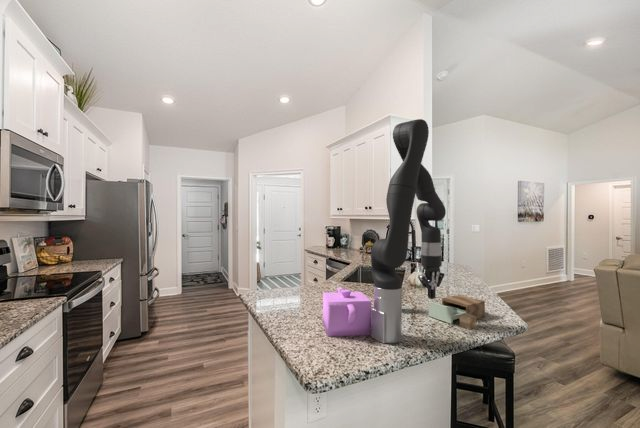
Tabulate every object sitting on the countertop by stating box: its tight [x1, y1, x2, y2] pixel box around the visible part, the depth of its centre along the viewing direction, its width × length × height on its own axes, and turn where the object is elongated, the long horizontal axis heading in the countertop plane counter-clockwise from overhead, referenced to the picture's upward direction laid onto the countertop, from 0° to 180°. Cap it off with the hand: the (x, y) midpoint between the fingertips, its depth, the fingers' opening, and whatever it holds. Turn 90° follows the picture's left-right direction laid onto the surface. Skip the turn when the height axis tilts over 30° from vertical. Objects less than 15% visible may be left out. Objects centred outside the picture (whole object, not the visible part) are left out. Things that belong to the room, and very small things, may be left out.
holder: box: [441, 294, 486, 320], centre depth 122 cm, size 12×12×6 cm
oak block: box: [459, 314, 477, 330], centre depth 108 cm, size 4×4×4 cm
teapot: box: [322, 286, 372, 337], centre depth 106 cm, size 15×25×14 cm, turn 7°
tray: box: [428, 301, 466, 325], centre depth 117 cm, size 12×10×6 cm
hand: (431, 298), depth 112 cm, fingers closed
